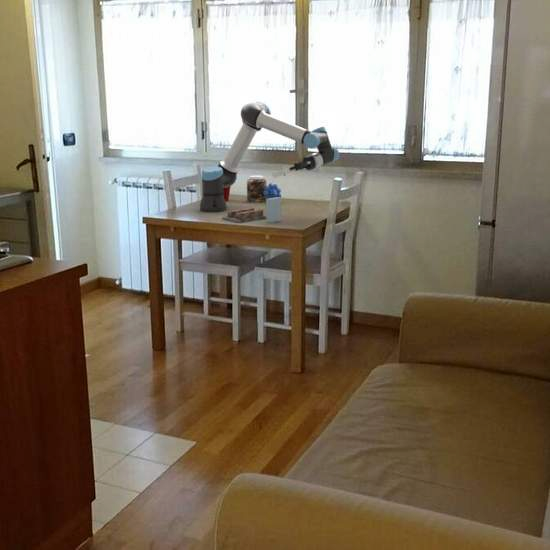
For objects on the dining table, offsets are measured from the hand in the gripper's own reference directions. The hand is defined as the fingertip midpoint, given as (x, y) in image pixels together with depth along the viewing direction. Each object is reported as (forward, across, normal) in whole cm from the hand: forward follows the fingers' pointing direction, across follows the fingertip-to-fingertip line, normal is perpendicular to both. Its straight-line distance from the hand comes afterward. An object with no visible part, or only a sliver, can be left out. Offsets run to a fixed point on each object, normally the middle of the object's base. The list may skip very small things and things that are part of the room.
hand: (278, 173), depth 371 cm
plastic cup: (+7, +70, -3) cm, 70 cm away
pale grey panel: (+12, -2, -22) cm, 26 cm away
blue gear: (-13, +47, -15) cm, 51 cm away
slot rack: (+21, +11, -16) cm, 29 cm away
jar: (-9, +59, -10) cm, 61 cm away
